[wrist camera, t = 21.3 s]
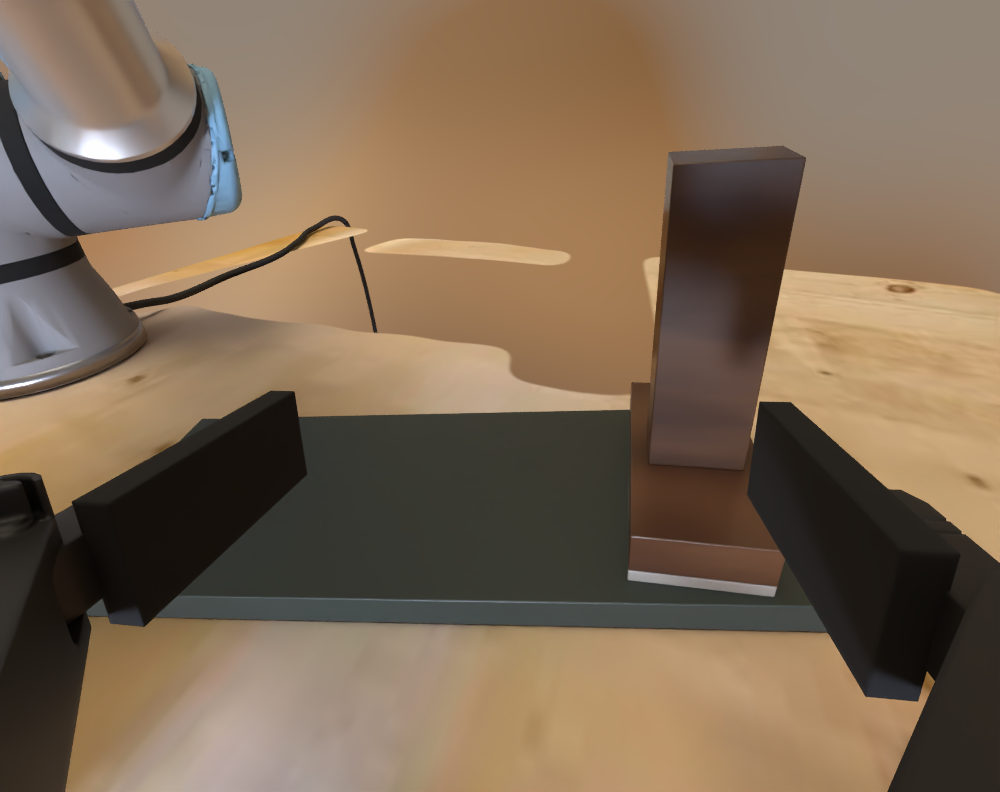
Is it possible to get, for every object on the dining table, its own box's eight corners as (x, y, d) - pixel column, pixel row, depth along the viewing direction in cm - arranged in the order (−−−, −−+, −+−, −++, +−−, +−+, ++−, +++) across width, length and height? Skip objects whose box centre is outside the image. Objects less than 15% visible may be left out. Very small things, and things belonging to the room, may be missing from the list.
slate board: (210, 437, 36) (202, 418, 35) (729, 427, 32) (733, 407, 32) (42, 615, 24) (24, 593, 23) (835, 632, 20) (845, 607, 20)
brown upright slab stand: (629, 418, 31) (645, 139, 24) (728, 423, 30) (778, 131, 23) (627, 580, 21) (653, 190, 14) (774, 597, 20) (892, 181, 13)
